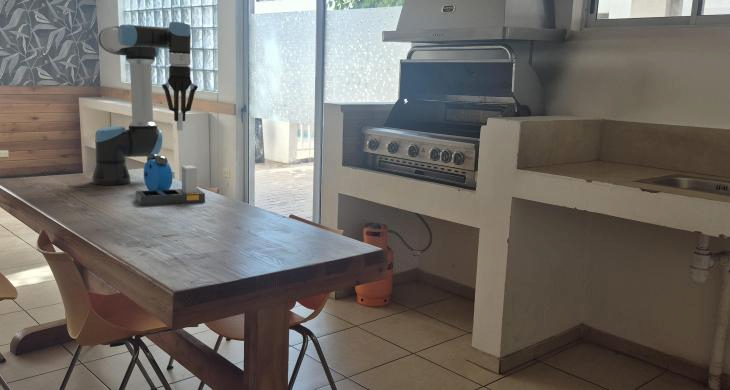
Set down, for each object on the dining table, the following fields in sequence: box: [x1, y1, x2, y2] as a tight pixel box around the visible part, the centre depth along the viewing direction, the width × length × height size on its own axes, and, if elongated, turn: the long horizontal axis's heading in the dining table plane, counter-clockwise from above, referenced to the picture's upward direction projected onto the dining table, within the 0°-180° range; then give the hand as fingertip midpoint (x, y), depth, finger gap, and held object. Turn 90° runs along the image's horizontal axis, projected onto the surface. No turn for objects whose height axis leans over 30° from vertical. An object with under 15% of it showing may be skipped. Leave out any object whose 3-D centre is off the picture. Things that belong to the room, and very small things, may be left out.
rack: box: [135, 187, 206, 207], centre depth 247 cm, size 11×23×4 cm, turn 118°
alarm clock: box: [143, 154, 173, 191], centre depth 263 cm, size 13×6×15 cm, turn 44°
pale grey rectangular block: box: [181, 164, 198, 194], centre depth 250 cm, size 7×4×12 cm, turn 28°
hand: (179, 129), depth 247 cm, fingers closed
